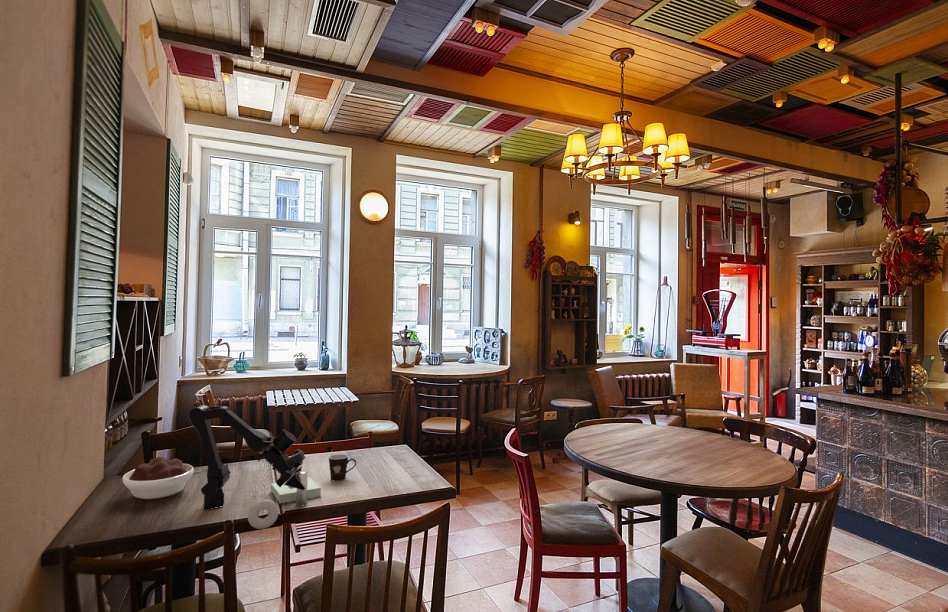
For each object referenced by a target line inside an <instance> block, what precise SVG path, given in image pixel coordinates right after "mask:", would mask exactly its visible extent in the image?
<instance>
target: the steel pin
mask: <svg viewBox="0 0 948 612" xmlns="http://www.w3.org/2000/svg"><path fill="white" fill-rule="evenodd" d="M297 478H298V479H299V480H300V482H301V483H302V484H303V486H304V487H305V489H304V490H300V489H297V493H296V501H295V502H296V503H295V505H296V506H297V505H299V506H298V507H303V506H302V505H305V506H306V504H308V499H307V478H308V471H307V470H301V471H299V472H297Z"/></svg>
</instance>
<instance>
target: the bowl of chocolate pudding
mask: <svg viewBox="0 0 948 612" xmlns="http://www.w3.org/2000/svg"><path fill="white" fill-rule="evenodd" d="M194 471H195V469H194V466H193V465H191V464H188V463H183V461H182V460H181V459H178V458H173V459H171V460H168V459H166V458H165V457H163V456H157V457H155V458H151V459H150V460H149V461H148V463H145V462H143V463H142V464H141V463H140V464H139V465H138V466H137V467H136V468H135V469H132V470H130V471H128V472H126V473H125V474H124V475H123V476H122V483H123V485H124V486H125V487H126V488H127V489H128V490H129V491H130V493H131V494H132V495H133V497H134V498H137V499H140V498H141V499H142V500H152V499H153V500H154V499H162V498H165V497H166V498H167V497H169V496H173V495H176V494H178V493H180V491H182V490H183V489H184V488H185V486H186V484H187V482H188V481H189V480H190V479H191V477H192V476H193V474H194Z"/></svg>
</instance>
